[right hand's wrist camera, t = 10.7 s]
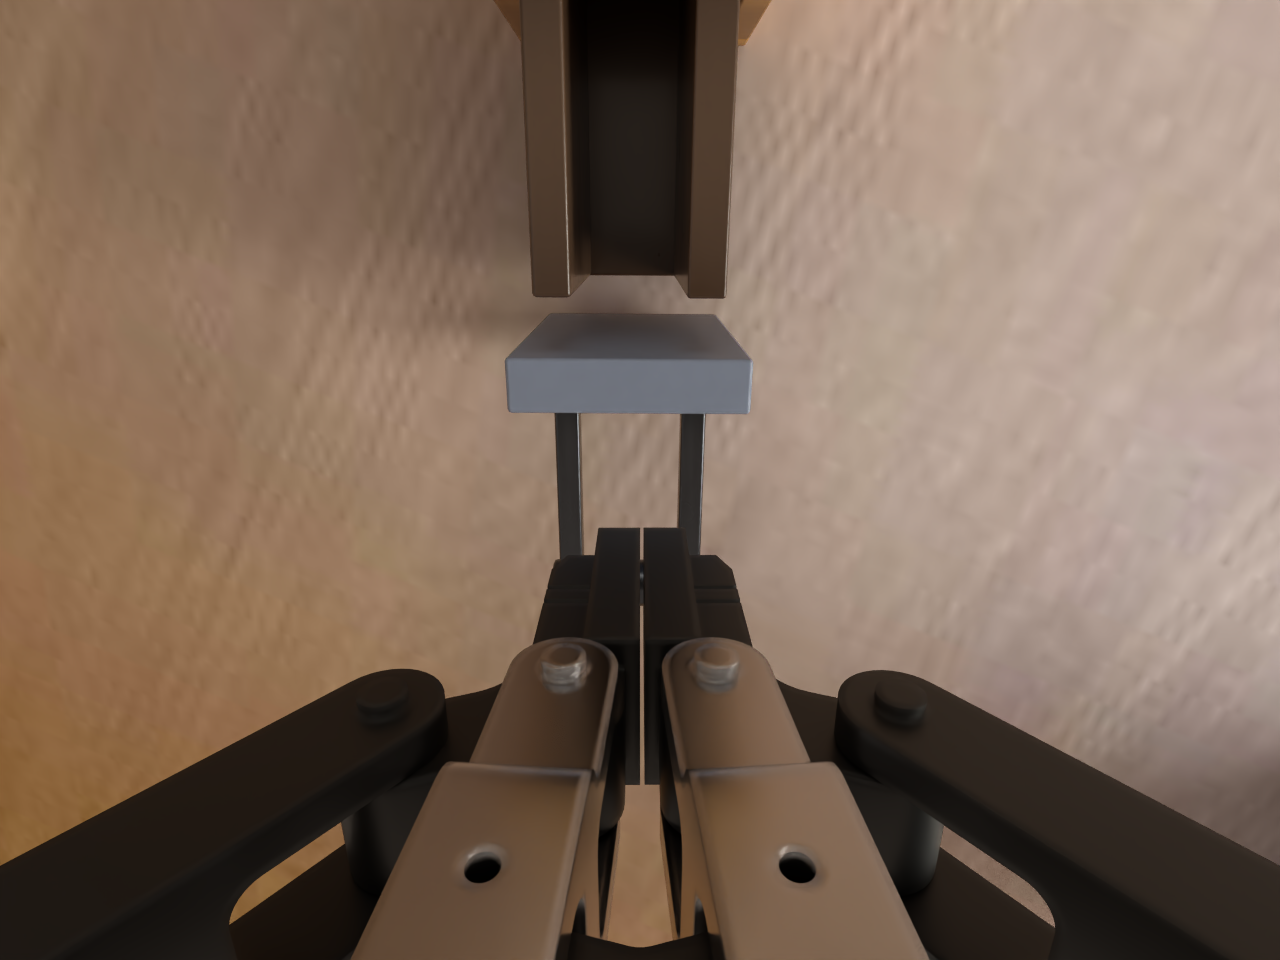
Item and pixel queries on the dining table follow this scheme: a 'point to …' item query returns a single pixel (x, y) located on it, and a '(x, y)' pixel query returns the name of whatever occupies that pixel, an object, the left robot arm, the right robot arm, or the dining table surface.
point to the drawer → (629, 224)
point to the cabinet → (750, 13)
